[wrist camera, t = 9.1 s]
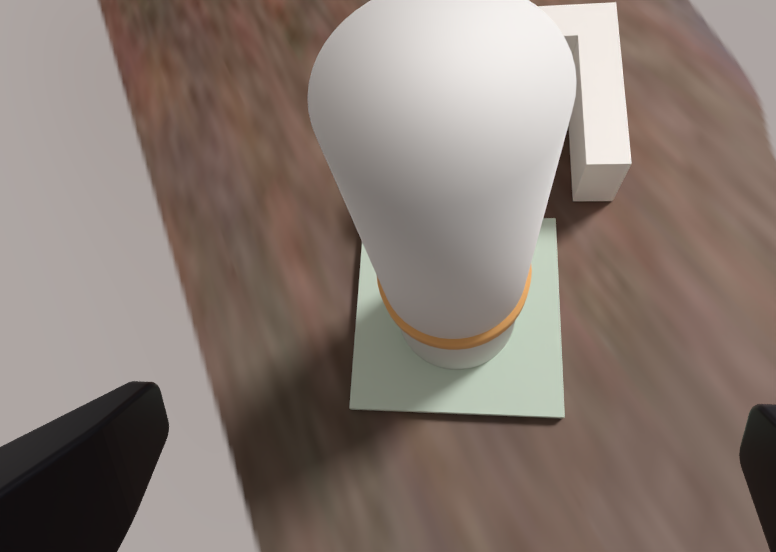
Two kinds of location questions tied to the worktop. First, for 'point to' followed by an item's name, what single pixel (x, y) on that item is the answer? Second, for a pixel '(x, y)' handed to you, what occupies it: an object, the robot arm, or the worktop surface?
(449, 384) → the sage mat
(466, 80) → the white banded cylinder
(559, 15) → the clip bracket
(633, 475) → the worktop surface
